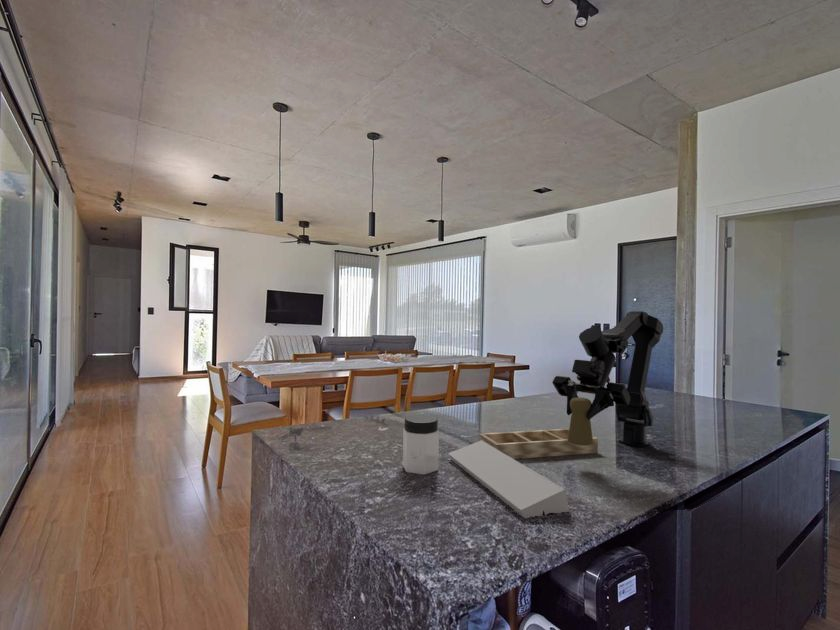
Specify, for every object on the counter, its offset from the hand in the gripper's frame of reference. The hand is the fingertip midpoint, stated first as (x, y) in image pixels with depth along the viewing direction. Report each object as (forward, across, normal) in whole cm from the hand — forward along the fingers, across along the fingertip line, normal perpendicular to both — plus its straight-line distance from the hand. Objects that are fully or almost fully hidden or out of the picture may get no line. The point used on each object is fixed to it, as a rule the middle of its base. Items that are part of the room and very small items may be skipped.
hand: (577, 416), depth 105 cm
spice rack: (+6, -14, +12) cm, 20 cm away
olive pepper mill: (+4, 0, +6) cm, 7 cm away
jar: (+31, -24, -13) cm, 41 cm away
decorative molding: (+26, -6, -7) cm, 27 cm away
